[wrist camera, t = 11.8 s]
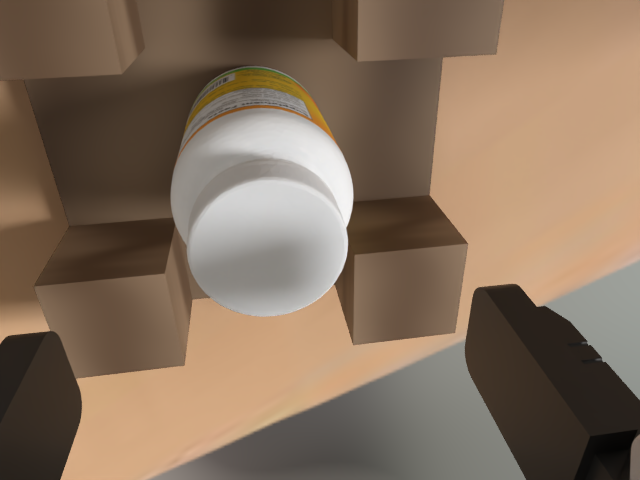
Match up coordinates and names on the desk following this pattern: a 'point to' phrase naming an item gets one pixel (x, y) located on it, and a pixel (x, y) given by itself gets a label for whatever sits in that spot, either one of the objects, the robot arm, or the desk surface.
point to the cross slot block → (167, 133)
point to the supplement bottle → (261, 194)
